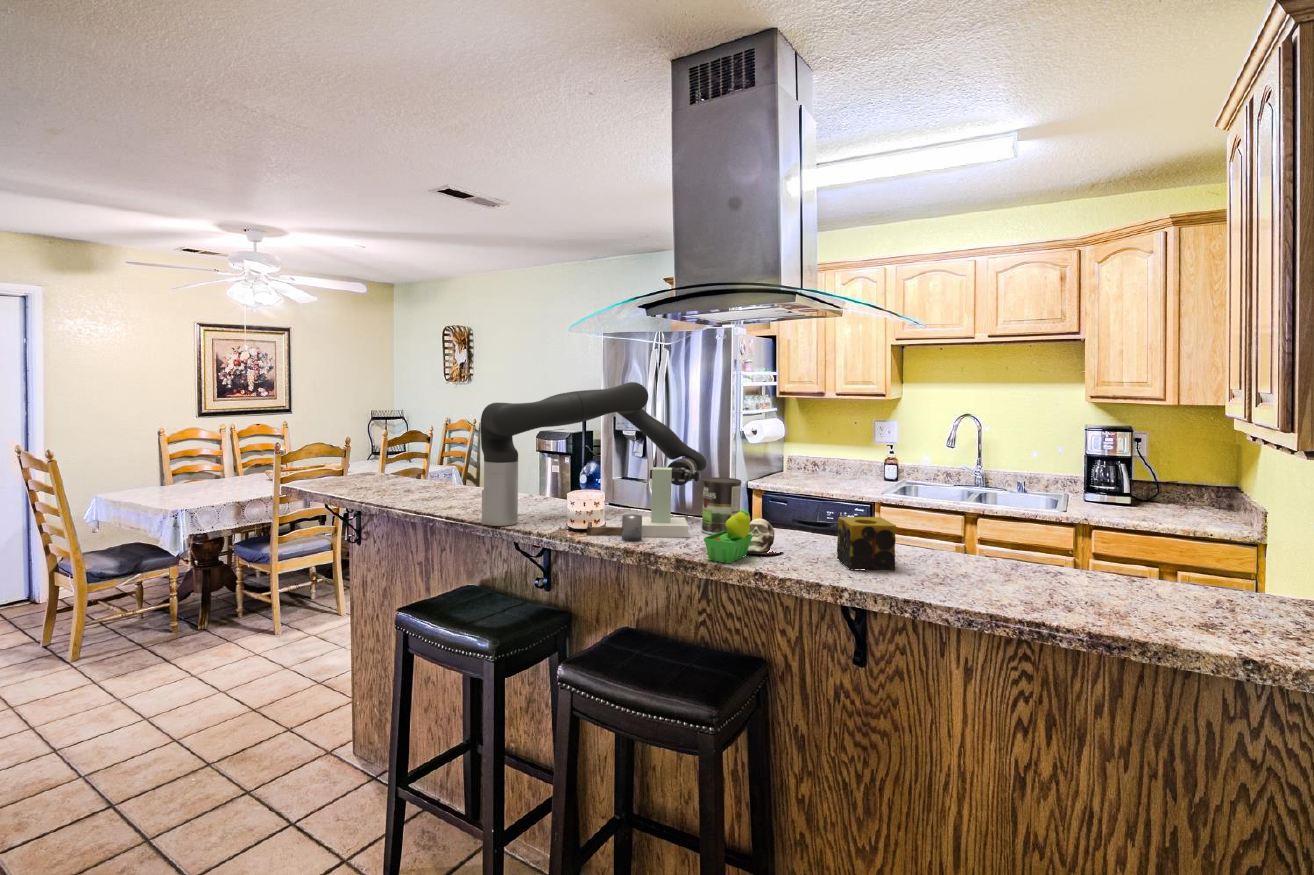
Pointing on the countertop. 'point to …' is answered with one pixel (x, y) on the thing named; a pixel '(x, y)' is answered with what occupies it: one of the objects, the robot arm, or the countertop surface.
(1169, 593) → the countertop surface
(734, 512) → the coffee can
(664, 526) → the white platform
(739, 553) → the fruit basket
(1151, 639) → the countertop surface
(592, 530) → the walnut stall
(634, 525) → the grey cylinder
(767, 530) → the skull
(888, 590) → the countertop surface
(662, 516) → the sage block
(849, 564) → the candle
